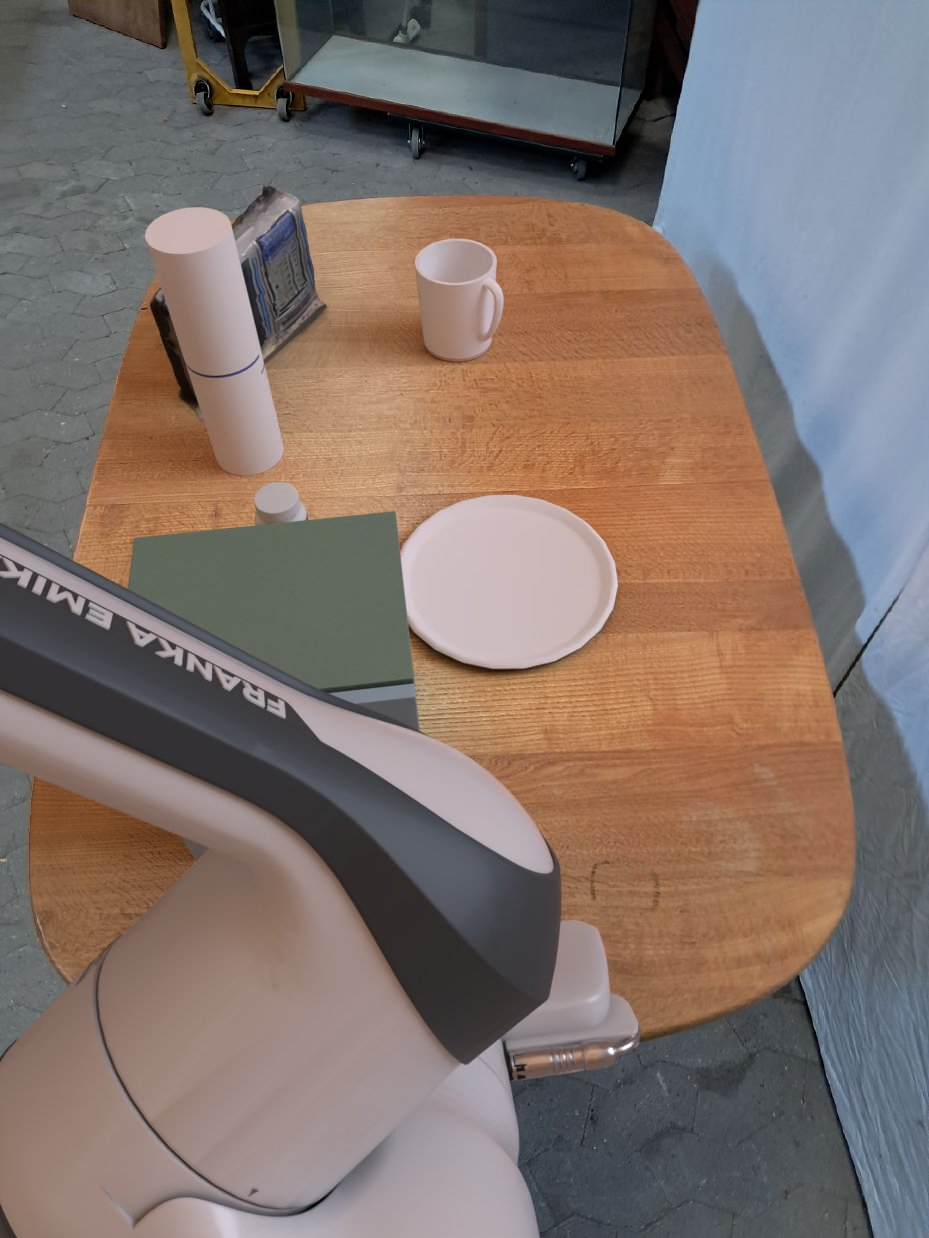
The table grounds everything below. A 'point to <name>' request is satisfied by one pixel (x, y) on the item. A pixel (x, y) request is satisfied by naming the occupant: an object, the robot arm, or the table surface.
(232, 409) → the cylindrical container
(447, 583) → the plate
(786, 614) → the table surface
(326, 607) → the cupboard
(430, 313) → the mug
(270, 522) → the pill bottle
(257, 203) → the radio
